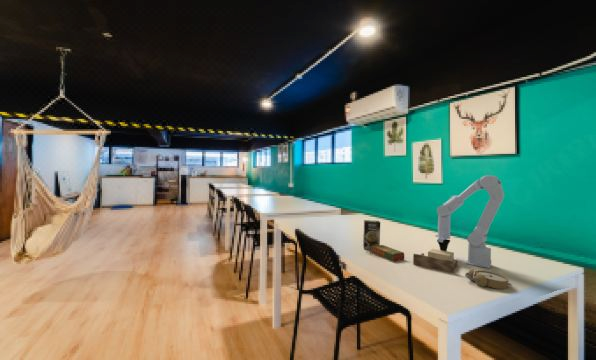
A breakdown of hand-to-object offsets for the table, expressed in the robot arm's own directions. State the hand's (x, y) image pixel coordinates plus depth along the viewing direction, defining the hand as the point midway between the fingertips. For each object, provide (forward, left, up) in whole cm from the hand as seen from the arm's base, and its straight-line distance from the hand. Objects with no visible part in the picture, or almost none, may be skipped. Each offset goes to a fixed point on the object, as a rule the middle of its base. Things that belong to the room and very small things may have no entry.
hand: (443, 253), depth 142 cm
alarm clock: (-21, +28, -2) cm, 35 cm away
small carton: (0, +5, -2) cm, 6 cm away
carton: (+23, +19, -2) cm, 30 cm away
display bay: (0, +17, -2) cm, 17 cm away
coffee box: (+36, +11, -2) cm, 38 cm away
